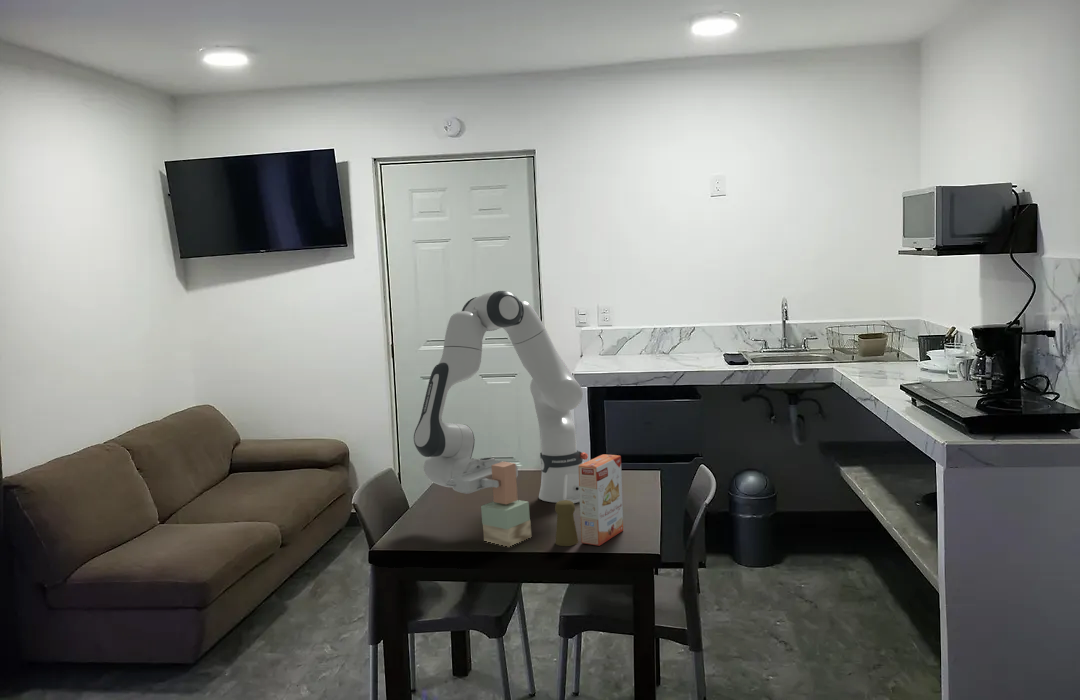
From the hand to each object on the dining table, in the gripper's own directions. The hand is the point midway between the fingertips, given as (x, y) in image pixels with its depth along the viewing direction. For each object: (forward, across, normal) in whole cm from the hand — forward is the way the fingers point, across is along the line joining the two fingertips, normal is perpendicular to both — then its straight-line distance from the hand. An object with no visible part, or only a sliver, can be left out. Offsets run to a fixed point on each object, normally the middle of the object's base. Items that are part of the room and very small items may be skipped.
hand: (506, 481), depth 223 cm
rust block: (-1, 0, +6) cm, 6 cm away
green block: (-1, 0, +11) cm, 11 cm away
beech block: (-1, 0, +16) cm, 16 cm away
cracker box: (+20, +14, +16) cm, 30 cm away
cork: (+14, +6, +16) cm, 22 cm away
